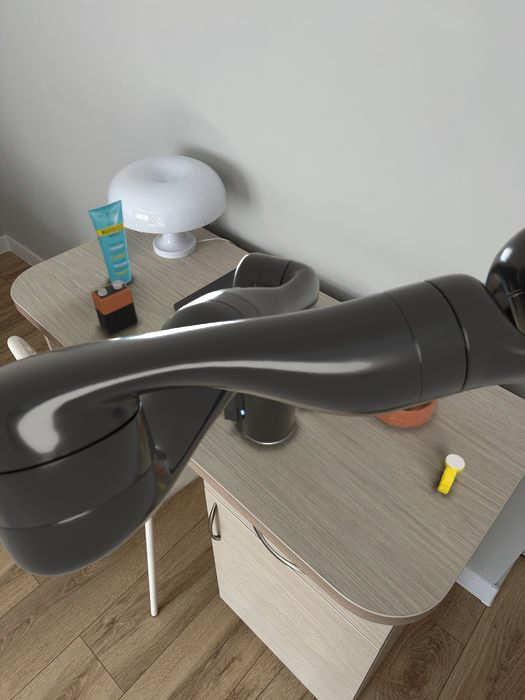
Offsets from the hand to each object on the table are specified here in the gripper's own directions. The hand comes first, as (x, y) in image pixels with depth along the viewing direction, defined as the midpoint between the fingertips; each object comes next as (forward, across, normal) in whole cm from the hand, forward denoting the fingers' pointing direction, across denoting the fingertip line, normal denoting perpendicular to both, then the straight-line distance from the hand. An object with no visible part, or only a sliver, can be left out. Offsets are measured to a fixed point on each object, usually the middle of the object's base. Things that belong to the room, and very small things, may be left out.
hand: (452, 335), depth 62 cm
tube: (+43, -67, +5) cm, 80 cm away
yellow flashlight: (+16, +6, -22) cm, 28 cm away
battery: (+32, -60, -6) cm, 69 cm away
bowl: (+27, -2, -11) cm, 29 cm away
